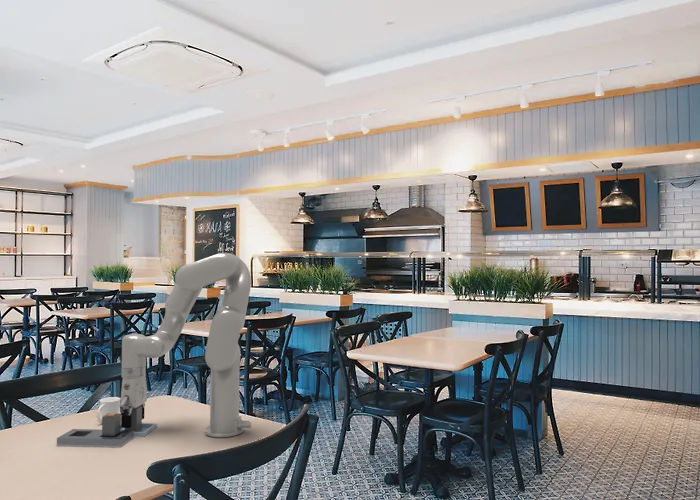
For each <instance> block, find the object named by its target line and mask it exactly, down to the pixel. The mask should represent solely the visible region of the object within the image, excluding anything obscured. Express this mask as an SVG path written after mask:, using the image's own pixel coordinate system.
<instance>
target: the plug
mask: <svg viewBox="0 0 700 500" xmlns="http://www.w3.org/2000/svg"><path fill="white" fill-rule="evenodd" d="M128 410H129V409H127V411H128ZM130 415H132V422H131V428H125V430H133V432H139V431H140V430H142V423H143V419H142V406H139V407H137V408H132V411H131V414H130Z"/></svg>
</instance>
